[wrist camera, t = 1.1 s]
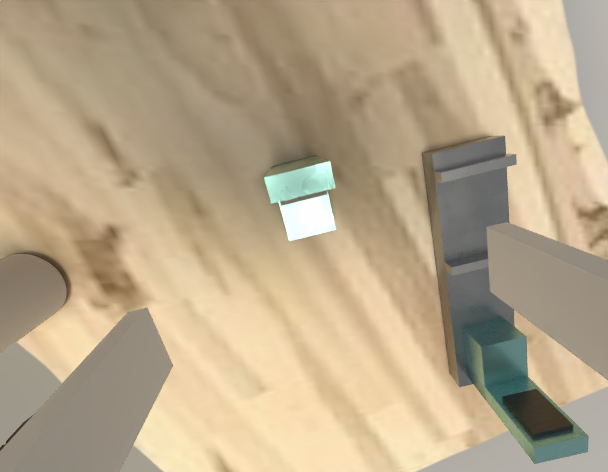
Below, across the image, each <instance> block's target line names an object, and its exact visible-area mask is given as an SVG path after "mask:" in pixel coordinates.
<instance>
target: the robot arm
mask: <svg viewBox="0 0 608 472" xmlns="http://www.w3.org/2000/svg"><path fill="white" fill-rule="evenodd" d="M486 229H487V246H488V264H489V282H490V292H491V293H493V294H494V295H495V296H497V297H498V298H499V299H501V300H502V301H503V302H505V303H506V304H507V305H509V306H510V307H511V308H513V309H514V310H515V311H517V312H518V313H519V314H521V315H522V316H523V317H525V318H526V319H527V320H529V321H530V322H531V323H533V324H534V325H535V326H537V327H538V328H539V329H540V330H542V331H543V332H544V333H546V334H547V335H548V336H550V337H551V338H552V339H554V340H555V341H556V342H558V343H559V344H560V345H562V346H563V347H564V348H566V349H567V350H568V351H570V352H571V353H572V354H574V355H575V356H576V357H578V358H579V359H580V360H582V361H583V362H584V363H586V364H587V365H588V366H590V367H591V368H592V369H594V370H595V371H596V372H598V373H599V374H600V375H602V376H603V377H604V378H606V379H607V380H608V260H605V259H603V258H600V257H597V256H595V255H592V254H590V253H587V252H584V251H582V250H579V249H576V248H574V247H571V246H568V245H566V244H563V243H561V242H558V241H555V240H553V239H550V238H547V237H545V236H542V235H539V234H537V233H534V232H532V231H529V230H526V229H524V228H521V227H518V226H516V225H513V224H510V223H508V222H505V223H501V224H497V225H492V226H488V227H486ZM172 367H173V364H172V362H171V360H170V358H169V355H168V353H167V351H166V349H165V346H164V344H163V342H162V340H161V337H160V335H159V333H158V331H157V328H156V326H155V324H154V322H153V319H152V317H151V315H150V313H149V310H148V308H143V309H139V310H135V311H131V312H128V313H127V314H126V315H125V316H124V317H123V318H122V319H121V320H120V321H119V322H118V324H117V325H116V326H115V327H114V328H113V329H112V330H111V331H110V332H109V333H108V334H107V335H106V337H105V338H104V339H103V340H102V341H101V342H100V343H99V344H98V345H97V346H96V347H95V349H94V350H93V351H92V352H91V353H90V354H89V355H88V356H87V357H86V358H85V359H84V361H83V362H82V363H81V364H80V365H79V366H78V367H77V368H76V369H75V370H74V371H73V372H72V374H71V375H70V376H69V377H68V378H67V379H66V380H65V381H64V382H63V383H62V384H61V386H60V387H59V388H58V389H57V390H56V391H55V392H54V393H53V394H52V395H51V396H50V397H49V399H48V400H47V401H46V402H45V403H44V404H43V405H42V406H41V407H40V408H39V409H38V411H37V412H36V413H35V414H34V415H32V416H31V417H30V418H29V419H27V420H26V421H25V422H24V423H23V424H22V425H21V426H20V427H19V428H18V429H17V430H16V431H15V432H14V434H13V435H12V436H11V437H10V438H9V439H8V440H7V441H6V444H5V445H2V446H1V447H0V472H119V471H120V470H121V468H122V466H123V464H124V462H125V460H126V458H127V456H128V454H129V452H130V450H131V448H132V446H133V444H134V442H135V440H136V438H137V436H138V434H139V432H140V430H141V428H142V426H143V424H144V422H145V420H146V418H147V416H148V414H149V412H150V410H151V408H152V406H153V404H154V402H155V400H156V398H157V396H158V394H159V392H160V390H161V388H162V386H163V384H164V382H165V380H166V378H167V376H168V374H169V372H170V370H171V368H172Z"/></svg>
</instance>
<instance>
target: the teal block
mask: <svg viewBox="0 0 608 472" xmlns="http://www.w3.org/2000/svg"><path fill="white" fill-rule="evenodd" d="M264 180H265V184H266V187H267V191H268V194H269V198H270V202H271V204H273V203H277V202H279V205H280V209H281V213H282V217H283V220H284V224H285V228H286V231H287V235H288V239H289V241H292V240H296V239H301V238H305V237H309V236H313V235H317V234H321V233H325V232H329V231H333V230H336V227H335V222H334V218H333V213H332V209H331V204H330V200H329V195H328V191H327V190H329V189H333V188H336V187H335V183H334V178H333V173H332V169H331V164H330V161H328V160H326V159H324V158H321V157H319V156H313V157H309V158H305V159H301V160H297V161H293V162H289V163H285V164H281V165H277V166H273V167H271V169H270V170H269V172H268V173H267V174H266V176H265V177H264Z"/></svg>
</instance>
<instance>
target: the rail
mask: <svg viewBox="0 0 608 472" xmlns="http://www.w3.org/2000/svg"><path fill="white" fill-rule="evenodd" d="M422 157H423V165H424V173H425V181H426V189H427V197H428V205H429V212H430V220H431V228H432V236H433V244H434V252H435V260H436V268H437V276H438V284H439V292H440V299H441V307H442V315H443V323H444V331H445V339H446V347H447V355H448V363H449V371H450V374H451V376H452V377H453V379H454V380H455V381H456V383H457V384H458V386H459V387H462V386H466V385H471V384H474V385H475V387H476V388H477V389H478V391H479V392H480V393H481V395H482V396H483V397H484V398H485V400H486V401H487V402H488V404H489V405H490V406H491V408H492V409H493V410H494V412H495V413H496V414H497V415H498V417H499V418H500V419H501V421H502V422H503V423H504V425H505V426H506V427H507V428H508V430H509V431H510V432H511V434H512V435H513V436H514V437H515V439H516V440H517V441H518V443H519V444H520V445H521V447H522V448H523V449H524V451H525V452H526V453H527V454H528V456H529V457H530V458H531V460H532V461H533V462H534V464H536V463H540V462H545V461H550V460H554V459H558V458H563V457H567V456H572V455H576V454H581V453H585V452H588V435H587V434H586V433H585V432H584V431H583V430H582V429H581V428H580V427H579V426H578V425H577V424H576V423H575V422H574V421H573V420H572V419H570V417H569V416H568V415H566V414H565V413H564V412H563V411H562V410H561V409H560V408H559V407H558V406H557V405H556V404H555V403H554V402H553V401H552V400H551V399H550V398H549V397H548V396H547V395H546V394H545V393H544V392H543V391H542V390H541V389H540V388H539V387H538V386H537V385H536V384H535V383H534V382H533V381H532V380H531V379H530V378H529V377H528V367H527V340H526V336H525V335H524V334H523V333H521V332H520V331H519V330H518V329H516V328H515V327H514V309H513V308H511V307H510V306H509V305H507V304H506V303H505V302H503V301H502V300H501V299H499V298H498V297H497V296H495V295H494V294H493V293H491V292H490V282H489V264H488V246H487V229H486V227H488V226H492V225H497V224H501V223H505V222H508V223H509V207H508V187H507V167H508V166H512V165H516V154H506V146H505V136H489V137H485V138H481V139H477V140H473V141H469V142H465V143H461V144H457V145H453V146H449V147H445V148H441V149H437V150H433V151H429V152H425V153H422Z"/></svg>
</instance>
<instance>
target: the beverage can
mask: <svg viewBox="0 0 608 472" xmlns="http://www.w3.org/2000/svg"><path fill="white" fill-rule="evenodd" d="M66 296H67V289H66V284H65V281H64V279H63V277H62V275H61V274H60V273H59V271H58V270H57V269H56V268H55V267H54V266H53V265H51V264H50V263H49V262H47V261H45V260H43V259H41V258H39V257H37V256H33V255H29V254H14V255H10V256H7V257H4V258H2V259H0V353H2V352H3V351H4V350H6V349H7V348H8V347H10V346H11V345H12V344H14V343H15V342H17V341H18V340H19V339H21V338H22V337H23V336H25V335H26V334H28V333H29V332H30V331H32V330H33V329H34V328H36V327H37V326H38V325H40V324H41V323H43V322H44V321H45V320H47V319H48V318H49V317H51V316H52V315H53V314H55V313H56V312H57V311H59V310H60V309H61V307H62V306H63V304H64V303H65V300H66Z"/></svg>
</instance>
